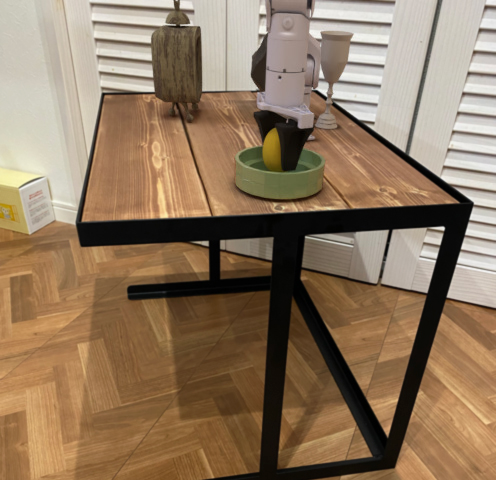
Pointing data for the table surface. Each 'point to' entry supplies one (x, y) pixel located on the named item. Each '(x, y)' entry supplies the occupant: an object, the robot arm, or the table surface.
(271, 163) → the lemon
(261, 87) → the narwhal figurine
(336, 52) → the chalice
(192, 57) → the tabletop clock
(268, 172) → the bowl
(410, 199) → the table surface
